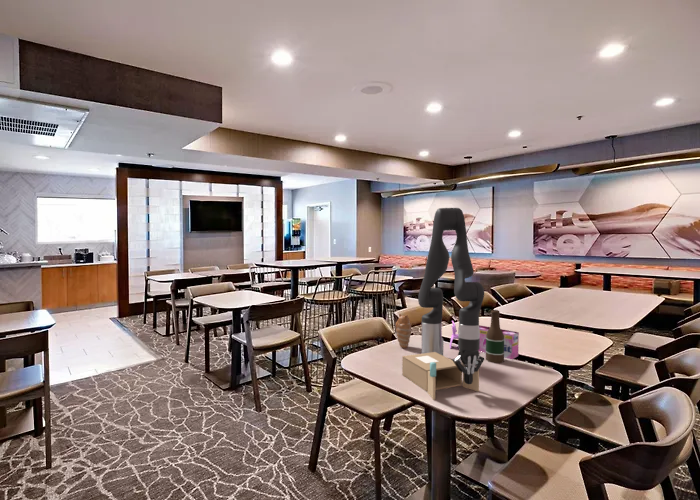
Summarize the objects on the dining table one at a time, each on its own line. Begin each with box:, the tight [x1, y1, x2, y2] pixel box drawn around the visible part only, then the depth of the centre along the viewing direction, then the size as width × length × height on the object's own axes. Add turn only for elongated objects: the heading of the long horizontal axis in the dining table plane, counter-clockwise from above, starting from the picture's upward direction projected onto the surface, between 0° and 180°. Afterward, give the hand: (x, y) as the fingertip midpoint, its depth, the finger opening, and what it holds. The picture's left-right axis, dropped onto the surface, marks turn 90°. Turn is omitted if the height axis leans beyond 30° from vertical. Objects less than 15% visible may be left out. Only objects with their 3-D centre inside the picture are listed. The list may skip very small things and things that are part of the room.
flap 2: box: [462, 369, 480, 393], centre depth 140 cm, size 6×1×8 cm, turn 42°
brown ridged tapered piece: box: [395, 313, 412, 349], centre depth 192 cm, size 9×8×18 cm
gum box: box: [478, 324, 520, 360], centre depth 182 cm, size 22×7×13 cm, turn 43°
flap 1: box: [427, 362, 436, 401], centre depth 133 cm, size 6×2×12 cm, turn 6°
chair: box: [449, 320, 458, 350], centre depth 190 cm, size 8×9×15 cm
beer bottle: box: [485, 309, 505, 364], centre depth 170 cm, size 8×8×24 cm
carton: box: [401, 352, 463, 393], centre depth 148 cm, size 16×18×8 cm
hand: (468, 383), depth 136 cm, fingers closed
